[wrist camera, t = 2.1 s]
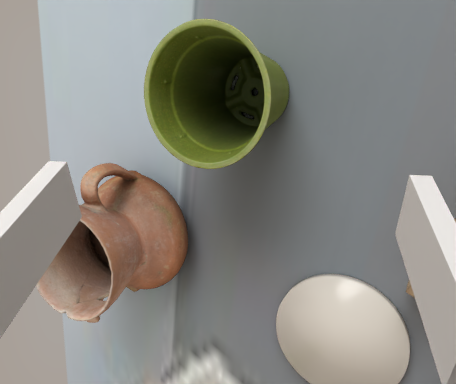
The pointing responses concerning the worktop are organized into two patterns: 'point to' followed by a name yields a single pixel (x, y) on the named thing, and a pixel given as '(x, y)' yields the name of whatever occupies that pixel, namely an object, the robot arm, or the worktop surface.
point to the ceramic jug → (115, 244)
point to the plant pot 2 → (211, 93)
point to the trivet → (342, 332)
